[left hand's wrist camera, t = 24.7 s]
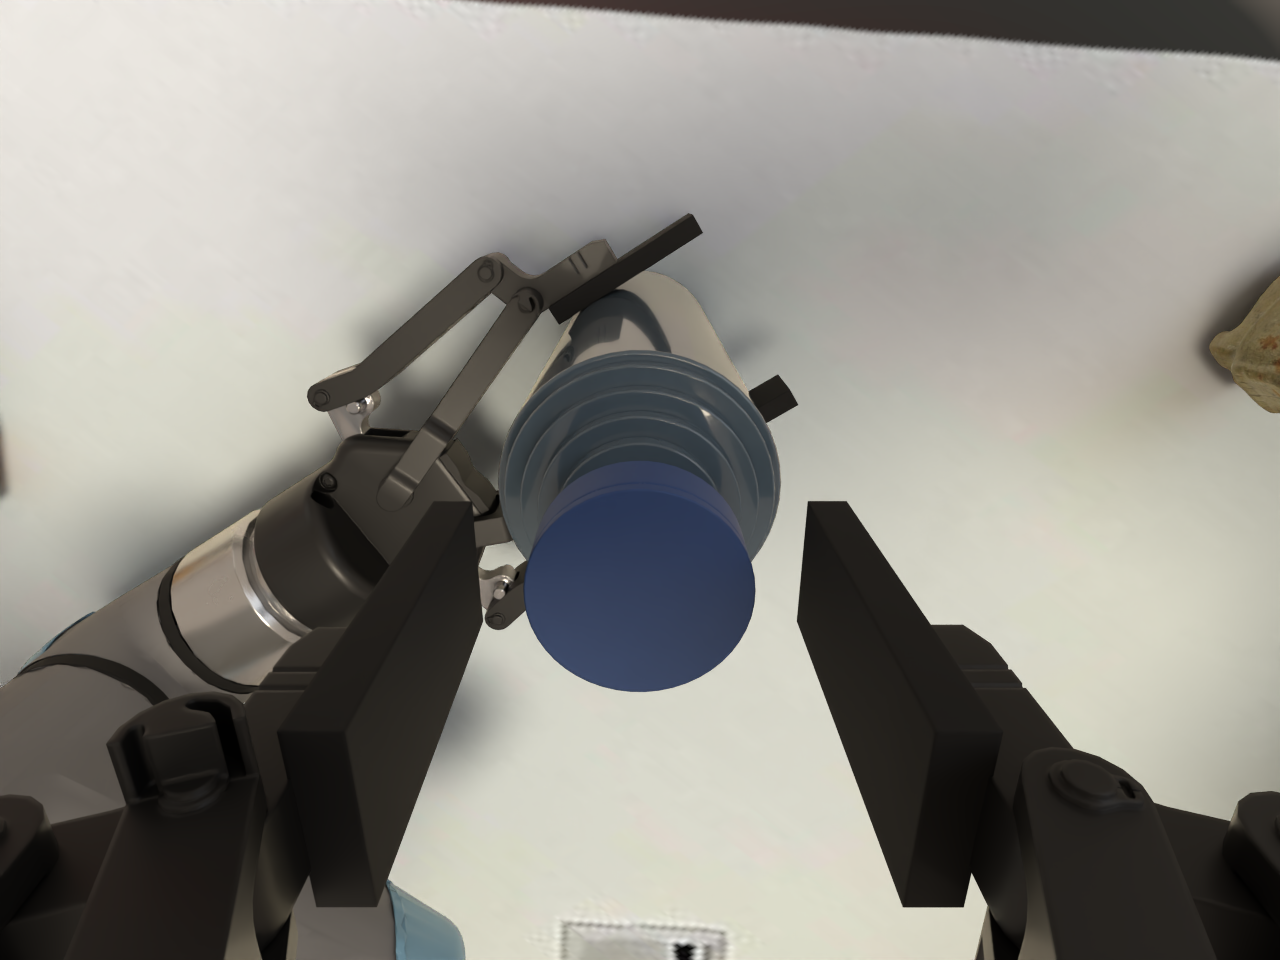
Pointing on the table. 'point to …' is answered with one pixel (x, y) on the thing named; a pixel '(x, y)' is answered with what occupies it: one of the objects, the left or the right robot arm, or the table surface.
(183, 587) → the right robot arm
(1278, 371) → the sculpture
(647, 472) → the cap
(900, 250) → the table surface
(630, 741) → the table surface
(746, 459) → the bottle
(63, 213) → the table surface
